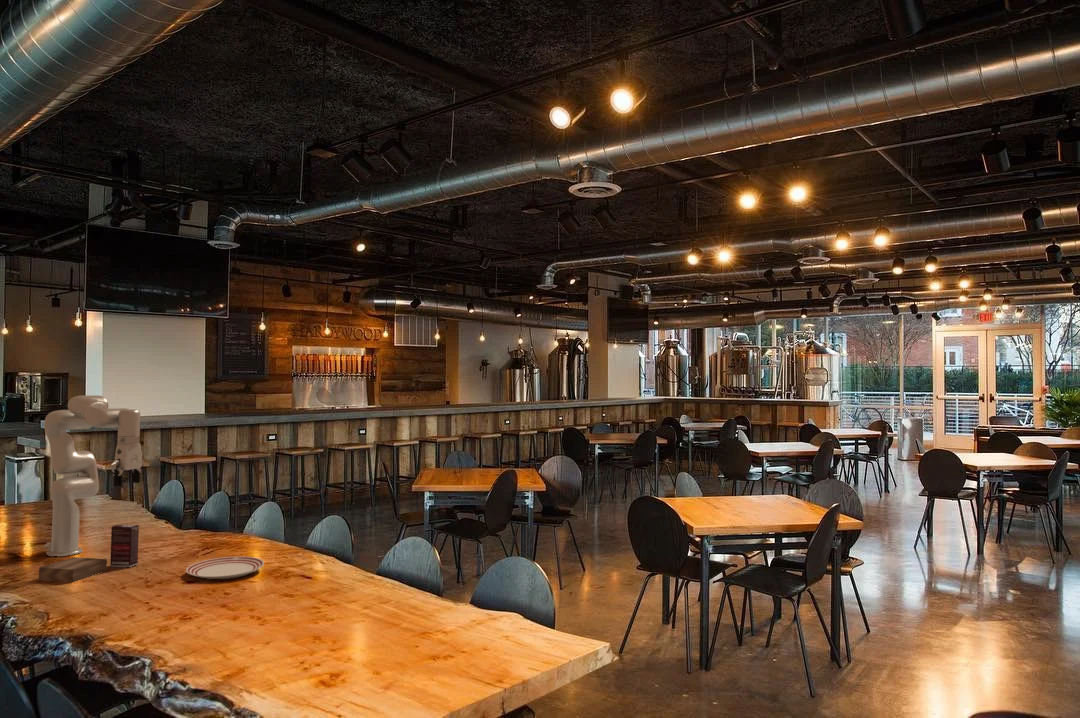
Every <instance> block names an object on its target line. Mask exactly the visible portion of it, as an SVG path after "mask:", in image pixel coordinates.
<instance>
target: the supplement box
mask: <svg viewBox="0 0 1080 718" xmlns="http://www.w3.org/2000/svg"><path fill="white" fill-rule="evenodd" d="M139 525H140V524H115V525H113V526H111V532H110V533H111V537H110V540H111V541H110V564H109V565H110V566H109V567H111V568H126V567H131V568H133V567H132V566H134V565H136V566H138V565H139V564H138V560H139V559H138V558H139V530H140V528H139V527H140V526H139ZM137 564H138V565H137ZM134 567H135V566H134Z"/></svg>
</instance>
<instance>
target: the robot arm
mask: <svg viewBox="0 0 1080 718" xmlns="http://www.w3.org/2000/svg"><path fill="white" fill-rule="evenodd" d="M43 427H44V432H45V435H46V438H47V439H48V442H49V448H50V449H49V450H50V458H51V465H52V466H51V467H52V470H53V472H54V474H56V475H58V476H59V475H60V476H61V475H63V476H65V475H75V474H76V475H77V474H80V476H67V477H61V478H58V479H56V480H54V481H52V484H51V486H50V494H51V501H52V521H51V542H48V541H47V543H46V544H44V546H43V547H44V548H45V549H48V551H46V556H47V555H48V556H47V557H54V556H57V557H66V556H67V557H69V556H73V555H74V554H75V555H78V553H79V554H81V553H82V552H83V548H82V547H79V544H80V543H79V541H80V540H79V537H80V517H81V515H80V513H81V512H80V507H79V505H78V503H76V502H75V501H76V500H81V499H88V498H93V497H95V496H96V495H97V494H98V492H99V488H100V482H99V474H98V466H97V459H96V457H95V455H94V453H92V452H91V451H89V450H76V448H75V442H74V439H73V437H72V436H71V435H70V434H69V433H68V432H67V431H69V430H70V431H72V430H73V431H75V430H88V429H90V428H93V427H96V428H101V429H106V428H108V429H109V428H117V445H116V448H115V454H114V461H113V462H112V463H111V464H110V465H109V467H110V470H111V473H112V476H113V486H114V487H122V486H123V474H124V473H123V472H124V471H130V470H131V471H132V472H131V483H134V484H139V483H141V473H142V470H143V468H144V464H145V460H144V459H143V453H142V445H141V443H140V435H141V434H140V432H141V411H140V410H139V409H133V408H132V409H129V408H122V407H121V408H117V407H116V408H115V407H114V408H109V401H108V399H107V398H106V397H105V396H103V395H97V394H96V395H91V394H90V395H87V394H86V395H84V394H83V395H76V396H73V397H72V398H70V400H69V401H68V403H67V409H59V410H53V411H51V412H49V413H48V414H47V415H46V416H45V418H44V424H43ZM66 430H67V431H66ZM68 555H69V556H68Z"/></svg>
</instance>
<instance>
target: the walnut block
mask: <svg viewBox="0 0 1080 718" xmlns="http://www.w3.org/2000/svg"><path fill="white" fill-rule="evenodd" d="M107 562H108V559H107V558H95V557H94V558H93V557H81V556H80V557H78V556H77V557H75V556H74V557H70V558H66V559H64V560H60V561H57V562H53V563H50V564H47V565H43V566H40V567H38V581H44V582H56V581H59V582H60V583H71V582H73V583H76V582H79V581H81V579H82V580H84V578H85V579H88V578H91V577H93V576H92V575H94V576H96V575H95V574H97V575H99V574H98V573H100V574H102V573H101V572H103V573H105V572H104V571H106V572H107V565H108V563H107ZM90 576H91V577H90ZM87 577H88V578H87ZM78 580H79V581H78ZM75 581H76V582H75ZM59 582H58V583H59Z"/></svg>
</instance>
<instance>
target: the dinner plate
mask: <svg viewBox="0 0 1080 718" xmlns="http://www.w3.org/2000/svg"><path fill="white" fill-rule="evenodd" d="M264 565H265V561H264V560H263V559H261V558H259V557H253V556H224V557H215V558H210V559H206V560H202V561H197V562H196V563H193V564H191V565H189V566H188V567H187V568H186V569H185V573H186V574H188V575H190V576H193V577H197V578H200V579H204V578H206V579H205V580H212V579H221V580H230V579H231V578H232V579H236V578H242V577H245V576H247V575H249V574H252V573H255V572H257V571H258V570H260V569H261V568H262V567H264Z"/></svg>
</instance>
